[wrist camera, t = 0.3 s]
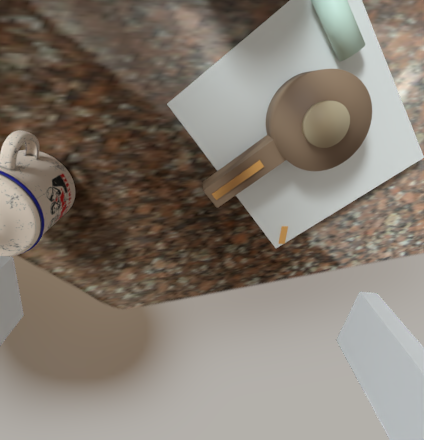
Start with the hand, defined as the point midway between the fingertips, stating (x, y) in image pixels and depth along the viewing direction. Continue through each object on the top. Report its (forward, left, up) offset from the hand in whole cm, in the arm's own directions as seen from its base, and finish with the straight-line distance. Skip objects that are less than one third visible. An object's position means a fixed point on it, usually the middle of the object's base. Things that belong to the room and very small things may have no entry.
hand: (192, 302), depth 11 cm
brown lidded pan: (+3, +8, -22) cm, 24 cm away
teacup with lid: (-10, -16, -25) cm, 31 cm away
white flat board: (+4, +11, -24) cm, 27 cm away
